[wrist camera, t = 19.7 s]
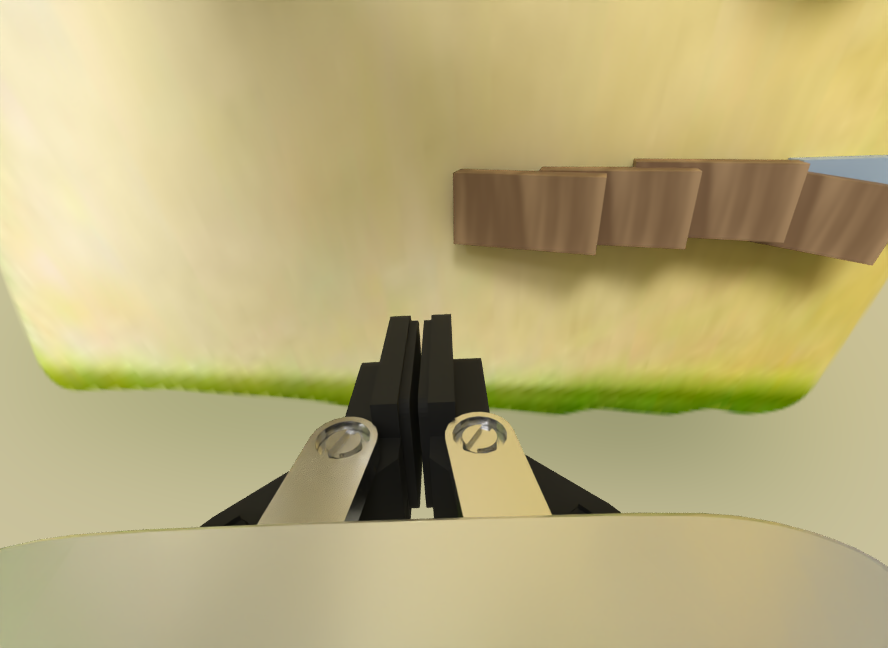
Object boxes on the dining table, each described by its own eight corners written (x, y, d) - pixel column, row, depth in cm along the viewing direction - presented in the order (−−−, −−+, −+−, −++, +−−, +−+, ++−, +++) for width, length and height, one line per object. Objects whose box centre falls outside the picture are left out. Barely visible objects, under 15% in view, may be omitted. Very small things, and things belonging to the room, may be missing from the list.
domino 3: (624, 234, 32) (783, 242, 29) (636, 162, 29) (810, 163, 27) (622, 227, 33) (773, 234, 31) (634, 158, 31) (797, 160, 28)
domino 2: (535, 241, 32) (685, 249, 29) (539, 170, 30) (702, 171, 27) (538, 234, 34) (680, 241, 31) (542, 166, 31) (696, 167, 29)
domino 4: (781, 231, 32) (917, 227, 32) (804, 160, 30) (950, 155, 30) (763, 225, 34) (891, 221, 34) (783, 157, 32) (921, 153, 32)
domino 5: (715, 234, 32) (872, 265, 30) (747, 163, 29) (921, 191, 27) (710, 228, 33) (857, 256, 31) (739, 160, 31) (902, 186, 29)
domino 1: (453, 243, 32) (595, 255, 29) (453, 172, 30) (606, 177, 27) (461, 236, 34) (596, 246, 31) (461, 169, 31) (606, 172, 28)
